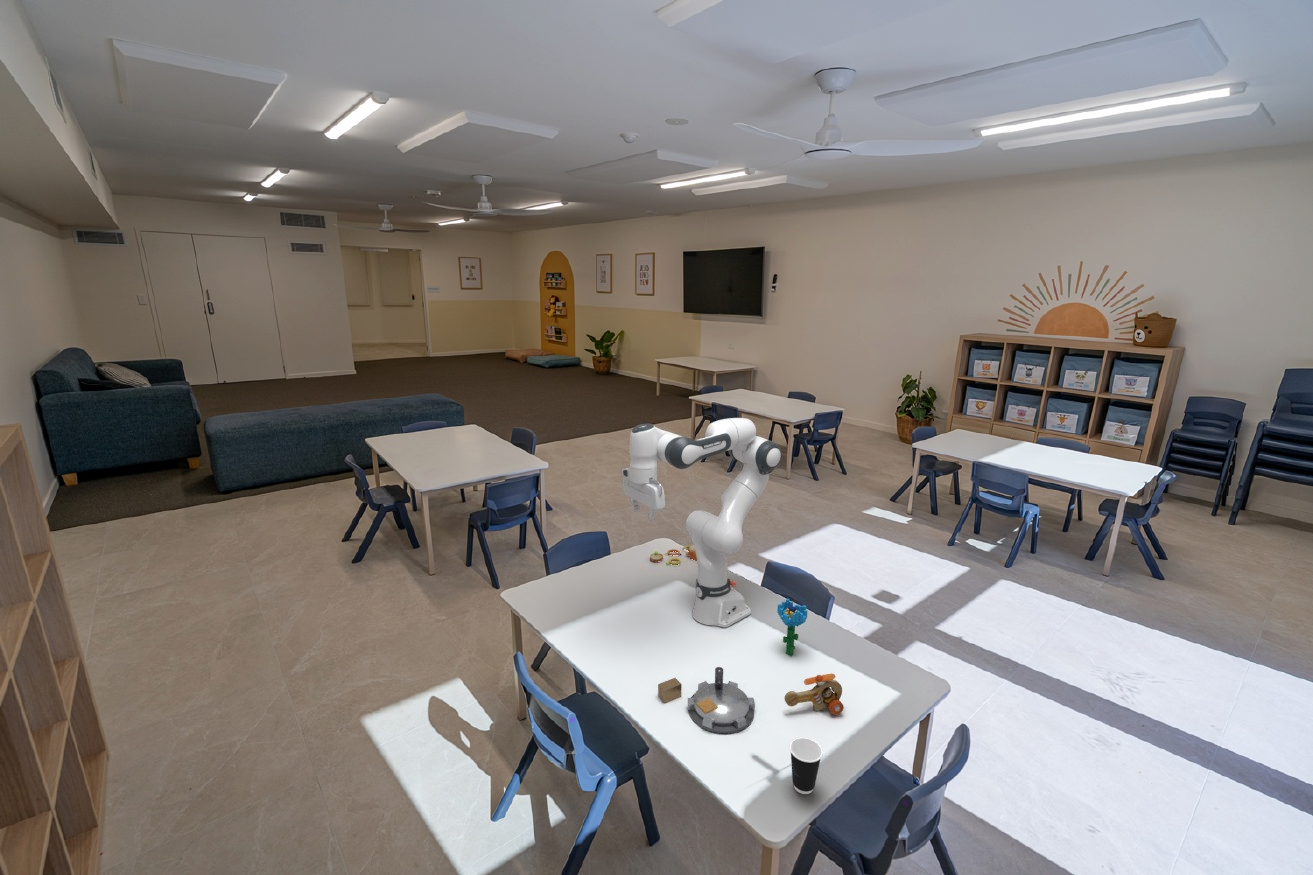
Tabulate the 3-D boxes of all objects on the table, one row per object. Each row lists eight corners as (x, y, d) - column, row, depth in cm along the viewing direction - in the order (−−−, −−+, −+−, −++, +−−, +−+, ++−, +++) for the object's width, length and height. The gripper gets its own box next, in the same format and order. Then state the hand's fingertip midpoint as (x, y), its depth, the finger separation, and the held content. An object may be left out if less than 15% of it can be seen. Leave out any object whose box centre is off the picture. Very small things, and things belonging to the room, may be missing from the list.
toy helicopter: (846, 713, 167) (849, 678, 164) (789, 723, 163) (792, 687, 160) (833, 697, 173) (836, 663, 170) (779, 706, 169) (781, 671, 167)
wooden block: (675, 691, 176) (675, 677, 175) (681, 698, 173) (681, 683, 172) (658, 698, 173) (658, 683, 172) (664, 705, 170) (664, 690, 169)
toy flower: (784, 642, 201) (787, 595, 197) (808, 653, 195) (811, 604, 191) (770, 654, 194) (773, 605, 190) (794, 665, 189) (798, 615, 184)
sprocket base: (726, 681, 180) (727, 678, 180) (767, 718, 164) (767, 715, 164) (675, 702, 171) (675, 699, 171) (713, 743, 155) (713, 740, 155)
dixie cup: (781, 787, 141) (783, 749, 139) (796, 768, 147) (799, 732, 144) (810, 805, 136) (813, 766, 134) (825, 785, 142) (828, 748, 139)
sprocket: (725, 678, 180) (726, 655, 178) (766, 715, 164) (768, 690, 162) (676, 697, 171) (677, 674, 169) (715, 739, 155) (716, 713, 153)
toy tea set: (691, 550, 276) (691, 531, 273) (711, 562, 263) (711, 542, 261) (644, 563, 262) (644, 543, 259) (663, 576, 249) (664, 556, 247)
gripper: (670, 481, 179) (669, 522, 182) (635, 465, 195) (635, 504, 199) (653, 484, 175) (653, 527, 179) (619, 468, 192) (620, 507, 195)
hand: (643, 515), depth 189 cm, fingers open, 8 cm apart
